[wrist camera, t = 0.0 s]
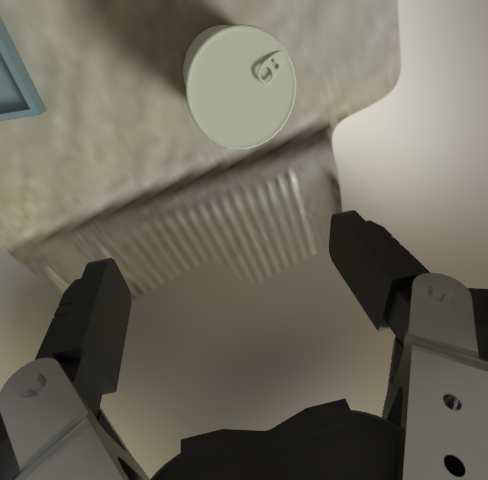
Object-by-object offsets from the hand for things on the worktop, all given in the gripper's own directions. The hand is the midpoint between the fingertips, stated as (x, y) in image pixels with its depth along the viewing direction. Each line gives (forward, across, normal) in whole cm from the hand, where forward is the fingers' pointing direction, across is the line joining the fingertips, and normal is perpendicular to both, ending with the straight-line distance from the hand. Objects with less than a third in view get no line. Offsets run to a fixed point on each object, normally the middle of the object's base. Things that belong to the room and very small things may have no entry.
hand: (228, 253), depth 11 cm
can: (+29, -4, -2) cm, 29 cm away
